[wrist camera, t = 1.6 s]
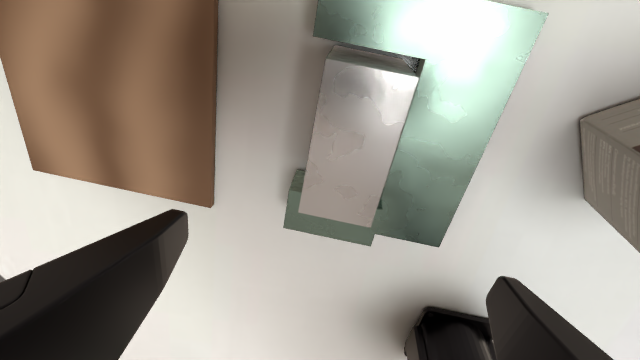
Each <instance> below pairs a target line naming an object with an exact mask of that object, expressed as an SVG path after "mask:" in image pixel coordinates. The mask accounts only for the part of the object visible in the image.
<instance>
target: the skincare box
mask: <svg viewBox="0 0 640 360" xmlns="http://www.w3.org/2000/svg"><path fill="white" fill-rule="evenodd" d="M580 129H581V143H582V161H583V180H584V196H585V200H586V201H587V202H588V203H589V204H590V205H591V206H592V207H593V208H594V209H595V210H596V211H597V212H598V213H599V214H600V215H601V216H602V217H603V218H604V219H605V220H606V221H607V222H608V223H609V224H610V225H612V226H613V227H614V228H615V229H616V230H617V231H618V232H619V233H620V234H621V235H622V236H623V237H624V238H625V239H626V240H627V241H628V242H629V243H630V244H631V245H632V246H633V247H634V248H635V249H636V250H637V251H638V252H639V253H640V99H638V100H635V101H631V102H628V103H625V104H622V105H619V106H616V107H613V108H610V109H607V110H604V111H601V112H598V113H595V114H592V115H589V116H587V117H585V118H582V119H581V120H580Z"/></svg>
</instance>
